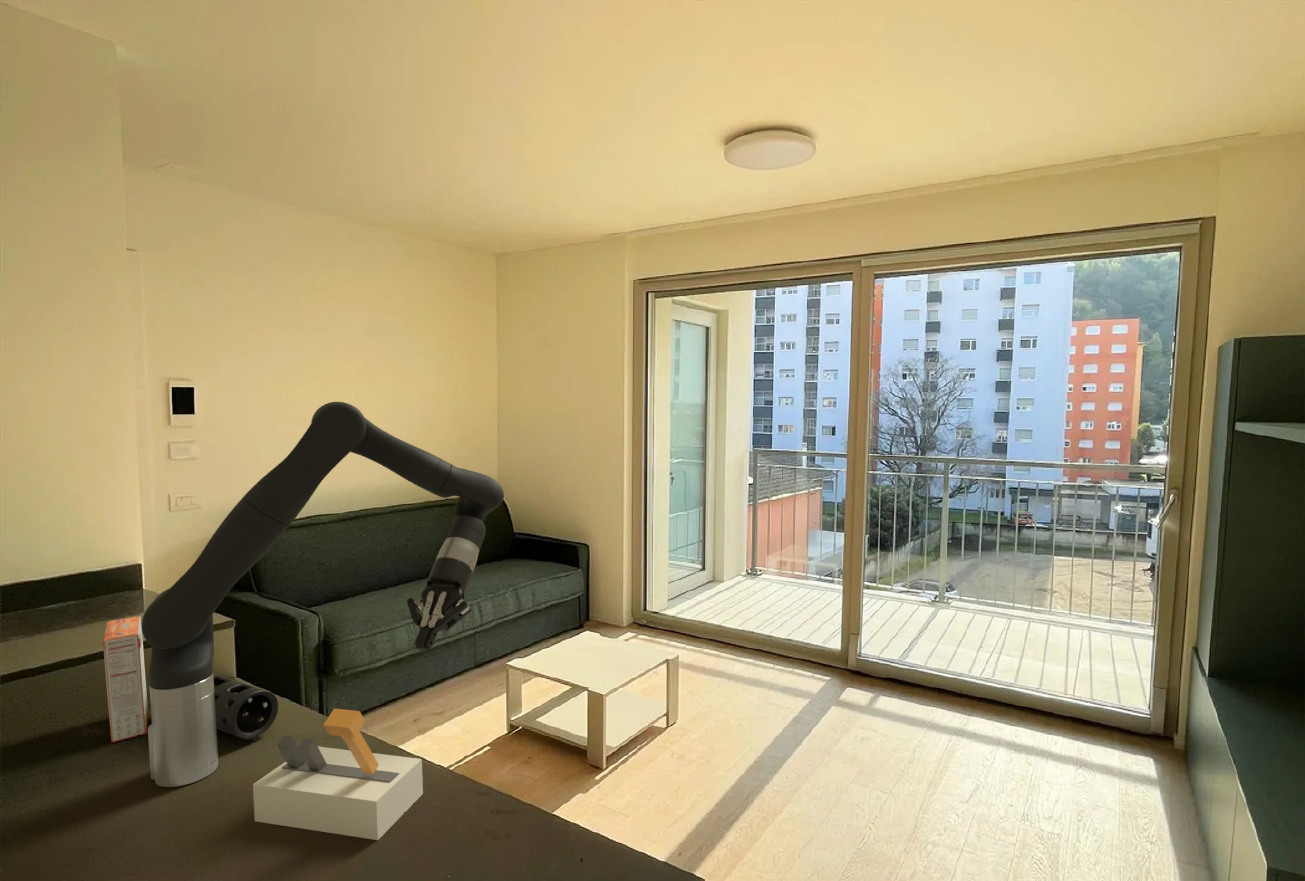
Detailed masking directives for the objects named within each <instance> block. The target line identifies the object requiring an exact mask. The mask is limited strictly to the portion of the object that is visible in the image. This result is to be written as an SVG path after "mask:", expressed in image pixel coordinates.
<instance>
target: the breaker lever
mask: <svg viewBox="0 0 1305 881" xmlns="http://www.w3.org/2000/svg"><path fill="white" fill-rule="evenodd" d="M365 722H366V720H365V718H364V717H363V715H362V713H361V711H359V710H354V709H353V710H351V709H341V708H333V710H332V711H331V713H330V714H329V716H328V717H327V719H326V720H325V722H324V723H323V727H324V729H325V731H326V733H328V735H329V736H336V737H341V738H342V739H343V741H344V743H345V744H346V747H347V748H348V749H349V750H350V751H351V753H352V754H353V756H354V758H355V759H356V761H357V763H358V764H359V766H360V768H361V769H362V771H363V773H368V774H374V772H375V771H376V769H377V767H378V765H379V764H378V762H377V760H376V759H375V757H374V755H373V753H374V752H373V751H372V750H371V748H370V747H369V745H368V743H367V741H366V740H365V738H364V736H363V734H362V733H361V729H362V727H363V725H364V724H365Z"/></svg>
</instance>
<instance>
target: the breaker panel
mask: <svg viewBox="0 0 1305 881" xmlns="http://www.w3.org/2000/svg"><path fill="white" fill-rule="evenodd" d="M276 747H277V748H278V750H279V751H280V754H281V755H282V757H283V758H284V760H285V761H284V762H283V763H282V764H280V765H278V766H277V767H276V768H273V770H271V771H269V772H268V773H267V774H265V775H264V776H263V777H261V778H260V779H258V780H257V781H255V782H254V783H253V784H252V790H253V791H252V792H253V795H252V796H253V813H254V815H253V816H254V822H258V823H263V824H264V823H265V824H268V825H269V824H270V825H277V826H282V827H283V826H285V827H291V828H297V829H304V830H309V831H310V830H311V831H317V832H323V833H329V834H335V835H336V834H337V835H342V836H347V837H356V838H360V839H369V840H375V841H379V840H380V839H381V837H383V836H384V835H385V834H386V833H387V831H388V830H389V829H390V828H392V826H393V825H395V823H396V822H398V820H399V819H400V818H401V817H402V816H403V815H404V814H405V813H406V812H407V811H408V810H409V809H410V808H411V807H412V806H413V805H414V804H415V803H416V802H417V800H418V799H419V798H420V797H422V795H423V794H424V788H423V787H424V785H423V784H424V782H423V759H422V758H415V757H408V756H401V755H391V754H382V753H376V752H375V753H374V752H372V753H373V755H374V757H375V759H376V760H377V762H378V764H379V765H378V767H377V769H376V771H375V772H374V774H368V773H363V771H362V769H361V768H360V766H359V764H358V763H357V761H356V759H355V758H354V756H353V754H352V753H351V751H350V749H349V750H348V749H342V748H341V749H340V748H335V747H334V748H333V747H332V748H331V747H324V746H318V744H317V742H316V739H312V738H303V740H302V741H301V742H300V743H299V745H298V744H297V742H296V740H295V738H294V737H293V736H287V735H283V736H281V738H280V739H279V741H278V742H277V743H276ZM413 803H414V804H413ZM404 812H405V813H404Z"/></svg>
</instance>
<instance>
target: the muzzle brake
mask: <svg viewBox="0 0 1305 881" xmlns="http://www.w3.org/2000/svg"><path fill="white" fill-rule="evenodd" d="M213 680H214V696H215V713H216V730H219V731H221V732H224V733H226V734H229V735H232V736H235V737H237V738H240V739H243V740H247V741H250V742H256V741H257V740H259V739H260V737H261V735H263V734H264V733H266V732H267V731H268V730H269V729H270V727H271V726H272V725H273V724H274V721H275V720H276V718H277V715H278V712H279V700H278V699H277V698H278V697H276V695H275V694H274V693H272V691H269V690H266V689H263V688H260V687H256V686H253V685H251V684H250V685H249V684H247V683H244V682H241V681H237V680H234V679H231V678H229V677H228V678H227V677H225V676H221V675H218V674H215V673H213Z"/></svg>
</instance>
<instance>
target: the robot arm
mask: <svg viewBox="0 0 1305 881" xmlns="http://www.w3.org/2000/svg"><path fill="white" fill-rule="evenodd" d="M350 453H352V454H356V455H359V456H361V457H364V458H365V459H368V460H370V461H372V462H375V463H377V464H379V465H381V466H382V467H384V468H386V469H388V470H390V471H391V472H392V473H394V474H396V475H398V476H399V477H401V478H403V479H404V480H406V481H407V482H409V483H411V484H413V485H415V486H417V487H418V488H421V489H423V490H425V491H427V492H429V493H431V494H433V495H435V496H437V497H440V498H443V499H447V498H451V497H458V499H457V501H456V504H455V508H454V513H453V517H452V518H453V519H452V523H451V526H450V527H449V528H450V529H449V530H448V532H447V535H446V538H445V540H444V542H443V544H442V546H441V547H440V549H439V551H438V553H437V556H436V558H435V561H434V564H433V566H432V568H431V570H430V573H429V575H428V578H427V583H426V586H425V588H424V589H423V590H422V591H421V594H420V595H419V596H417V597H416V598H412V597H409V598H408V599H407V601H406V604H407V607H408V610H409V612H410V613H409V614H410V615H411V619H412V621H413V624H415V626H416V627H417V628H418V629H419V631H418V634H417V635H416V638H415V640H414V641H415V642H414V645H415V648H416V650H417V651H419V652H423V653H427V652H428V653H429V650H430V649H432V647H433V646H434V643H435V641H436V638H437V636H438V634H439V633H440V632H442V631H445V632H447V631H449V630H450V629H452V628H453V627H454V626H455V625H456V624H457V623H459V622H460V621H461V620H462V619H463V618H465V617H466V616H467V615H469V614H470V613H471V611H472V608H471V606H470V605H469V603H467V601H465V593H466V592H467V589H468V586H469V583H470V581H471V578H472V576H473V573H474V570H475V568H476V565H477V561H478V556H479V553H480V550H481V548H482V544H483V542H484V539H485V536H486V532H487V528H486V525H485V523H484V520H485V519H486V516H487V515H488V514H490V513H491V512H493V511H494V510H496V509H497V508H498V507H500V505H501V504H502V503H503V501H504V497H505V492H504V489H503V487H502V485H501V484H500V483H499V482H498V481H497V480H496V479H494V478H493V477H491V476H489V475H486V474H483V473H480V472H477V471H474V470H469V469H467V468H466V469H465V468H461V467H457V466H455V465H453V464H452V463H450V462H449V461H446V460H444V459H442V458H440V457H438V456H437V455H434V454H433V453H431V452H429V451H426V450H424V449H422V448H420V447H418V446H415V445H413V444H410V442H406V441H405V440H402V439H400V438H397V437H396V436H394V435H393V434H390V433H389V432H387V431H384V430H383V429H382V428H380V427H378V426H377V425H375V424H374V423H373V422H371V421H370V420H369V419H367V418H366V417H365V416H364V415H363V413H362V412H361V410H360V409H359V408H358V407H355V406H354V405H352V404H351V403H347V402H344V401H332V402H331V401H330V402H327V403H325V404H323V405H321V406H320V407H318V408H317V409H316V411H315V412H314V413H313V416H312V418H311V421H310V425H309V426H308V428H307V429H306V431H305V433H304V434H303V436H302V437H301V438H300V439H299V440H298V442H297V444H296V445H294V448H293V449H292V450H291V451H290V452H289V454H288V455H287V456H286V457H285V458H284V459H283V460H282V461H280V462H279V463H278V464H277V465H276V466H275V467H274V468H272V469H271V470H269V471H268V472H267V473H266V474H265V475H264V476H262V478H260V479H259V481H257V482H256V483H255V484H254V485H253V486H252V487H251V488H250V489H249V490H248V491H247V492H246V493H245V494H244V496H243V497H241V499H240V500H239V501H238V502H237V504H235V506H234V507H233V508H232V509H231V511H230V512H229V513H228V514H227V515H226V517H225V518H224V519H223V521H221V524H219V526H218V527H217V529H216V530H215V532H214V533H213V535H212V536H211V538H210V539H209V540H208V542H207V543H206V545H205V546H204V548H203V550H202V551H201V553H200V554H199V555H198V557H197V559H196V560H195V561H194V563H193V564H191V566H190V567H189V568H188V570H187V571H185V572H184V574H183V575H182V576H181V577H180V578H179V579H178V580H176V582H175V583H173V585H172V586H170V587H168V588H167V589H165V590H163V591H162V592H161V593H159V594H158V595H157V596H156V597H155V598H154V599H153V601H152V602H151V603H150V604H149V605H148V606H147V608H146V610H144V613H143V616H142V618H141V628H142V637H144V639H145V641H146V642H147V643H148V644H149V645H151V653H150V654H151V655H150V656H151V657H150V664H149V669H148V683H149V698H150V699H149V700H150V701H149V702H150V715H151V716H150V717H151V718H150V719H151V724H150V725H149V726H147V736H148V751H149V752H148V754H149V768H150V769H149V770H150V780H154V781H155V782H154V783H155V784H156V785H157V786H158V787H162V788H163V787H164V788H175V787H181V786H185V785H190V784H192V783H195V782H198V781H200V780H202V779H205V778H206V777H208V776H210V775H211V774H212V773H214V772H215V771H216V770H217V769H218V766H219V755H218V735H217V734H218V733H217V732H218V731H217V729H216V713H215V696H214V680H213V674H214V654H215V642H214V639H215V638H214V619H213V618H214V616H213V615H214V613H215V611H216V610H217V608H218V607H219V605H220V604H221V603H222V601H223V600H224V599H225V597H226V596H227V595H228V594H229V592H230V591H231V590H232V588H233V587H234V586H235V584H237V582H238V581H239V580H240V579H242V578H243V577H244V576H245V575H246V573H248V571H250V569H252V568H253V567H254V566H255V565H256V564H257V563H258V562H259V561H260V560H261V559H262V558H263V557H264V555H265V554H266V553H267V552H268V551H269V550H270V549H271V548H272V547H273V545H275V544H276V543H277V541H278V540H279V539H280V538H281V536H282V535H283V534H284V533H285V531H287V529H288V528H289V527H290V526H291V525H292V523H293V522H294V521H295V519H296V518H297V516H298V515H299V514H300V512H301V511H302V510H303V509H304V508H305V506H306V505H307V504H308V502H309V501H310V499H311V498H312V496H313V494H314V493H315V492H316V490H317V489H318V488H319V486H320V484H321V483H322V482H323V480H324V479H325V478H326V477H327V476H328V475H329V473H330V472H332V470H333V469H334V468H336V466H337V465H338V464H340V462H342V461H343V459H344V458H346V456H347V455H349V454H350ZM422 608H423V610H422ZM421 611H422V612H421Z"/></svg>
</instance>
